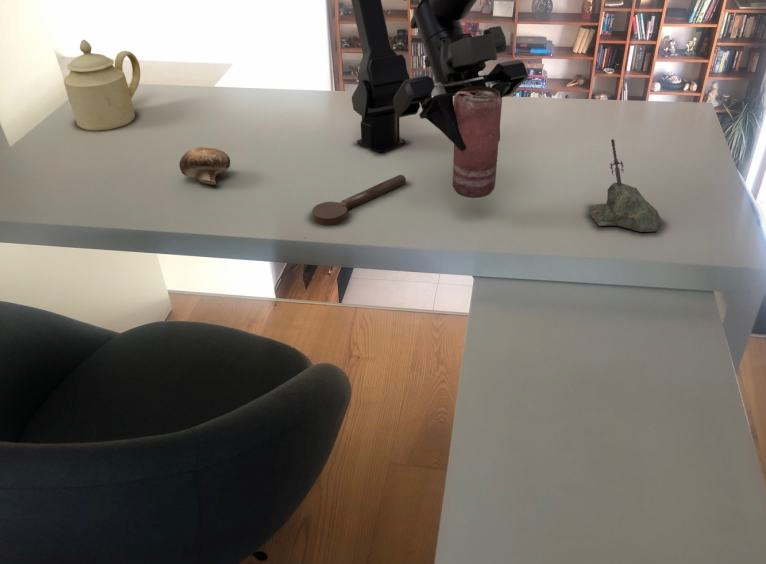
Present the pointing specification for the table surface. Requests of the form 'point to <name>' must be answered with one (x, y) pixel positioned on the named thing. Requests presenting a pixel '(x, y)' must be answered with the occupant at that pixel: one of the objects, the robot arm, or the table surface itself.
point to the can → (476, 140)
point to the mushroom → (204, 164)
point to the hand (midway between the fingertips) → (480, 146)
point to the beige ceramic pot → (101, 89)
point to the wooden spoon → (352, 202)
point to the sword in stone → (625, 206)
